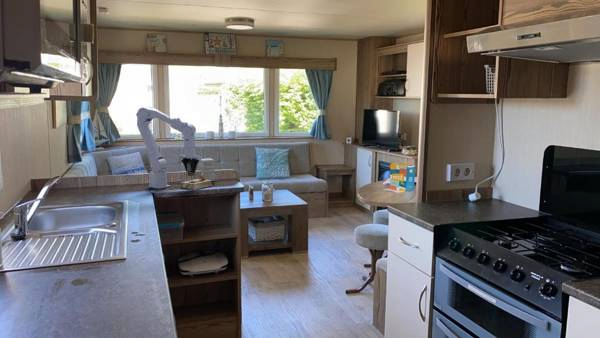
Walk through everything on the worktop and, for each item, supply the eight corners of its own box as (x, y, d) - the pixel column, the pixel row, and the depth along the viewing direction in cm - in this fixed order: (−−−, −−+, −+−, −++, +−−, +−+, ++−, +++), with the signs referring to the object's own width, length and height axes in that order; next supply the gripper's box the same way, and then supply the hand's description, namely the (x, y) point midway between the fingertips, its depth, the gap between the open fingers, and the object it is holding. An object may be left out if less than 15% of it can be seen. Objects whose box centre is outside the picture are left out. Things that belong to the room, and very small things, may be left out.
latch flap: (197, 175, 264) (197, 174, 264) (201, 179, 266) (201, 178, 267) (201, 176, 262) (202, 175, 262) (205, 179, 265) (205, 178, 265)
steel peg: (186, 175, 257) (185, 162, 255) (190, 174, 260) (190, 161, 258) (190, 176, 255) (189, 163, 254) (195, 174, 258) (194, 162, 256)
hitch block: (181, 187, 259) (181, 182, 258) (198, 183, 270) (198, 178, 269) (195, 189, 253) (194, 184, 253) (211, 185, 264) (211, 180, 264)
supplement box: (199, 179, 282) (198, 158, 280) (211, 178, 285) (210, 157, 283) (203, 181, 275) (202, 160, 273) (215, 180, 279) (214, 159, 277)
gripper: (174, 147, 255) (175, 172, 258) (194, 148, 248) (195, 174, 250) (184, 145, 261) (185, 170, 263) (203, 147, 254) (204, 172, 256)
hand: (190, 172), depth 257 cm, fingers closed on steel peg, 4 cm apart
